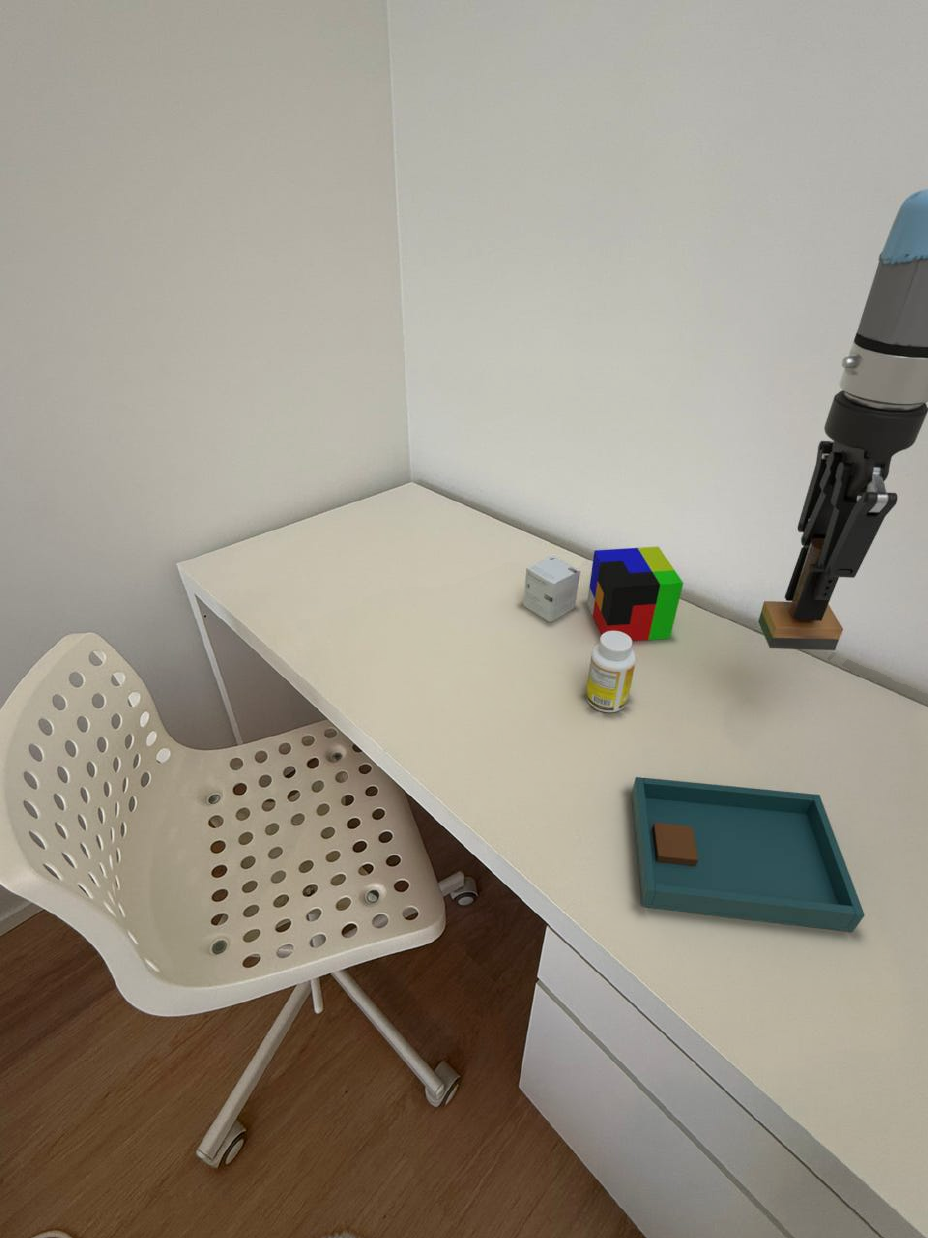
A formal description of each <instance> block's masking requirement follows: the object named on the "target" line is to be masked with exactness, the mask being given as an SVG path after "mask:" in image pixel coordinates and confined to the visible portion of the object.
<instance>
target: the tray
mask: <svg viewBox="0 0 928 1238" xmlns="http://www.w3.org/2000/svg"><path fill="white" fill-rule="evenodd" d="M631 802H632V803H631V805H632V813H633V815H632V816H633V823H634V824H633V825H634V833H635V834H634V835H635V845H636V847H635V848H636V854H637V856H636V857H637V867H638V878H639V888H640V898H641V907H642V908H648V909H649V908H650V909H657V910H665V911H673V912H682V913H689V914H691V913H692V914H699V915H706V916H707V915H708V916H716V917H724V918H732V919H740V920H748V921H749V920H750V921H758V922H766V923H775V924H781V925H782V924H783V925H791V926H798V927H807V928H817V929H824V930H832V931H841V932H848V933H850V932H851V933H853V932H854V931H855V930H856V928H858V925H860V923H861V921H862V920H863V919H864V917H865V916H866V915H865V912H864V910H863V907H862V904H861V902H860V899H859V896H858V894H857V891H856V888H855V885H854V882H853V880H852V878H851V875H850V872H849V869H848V866H847V864H846V861H845V859H844V857H843V854H842V851H841V848H840V845H839V842H838V840H837V837H836V835H835V832H834V829H833V827H832V824H831V821H830V819H829V816H828V814H827V813H828V812H827V811H826V808H825V805H824V803H823V800H822V798H821V795H820V794H811V793H805V792H804V793H803V792H795V791H794V792H792V791H784V790H783V791H782V790H772V789H762V788H752V787H743V786H740V787H739V786H731V785H723V784H714V783H702V782H692V781H683V780H671V779H661V778H653V777H652V778H651V777H641V776H635V779H634V782H633V786H632V792H631ZM654 823H663V824H673V825H683V826H692V828H693V833H694V839H695V845H696V850H697V856H698V862H697V864H696V866H688V865H679V864H670V863H661V862H656V857H655V848H654V840H653V832H652V828H653V824H654Z"/></svg>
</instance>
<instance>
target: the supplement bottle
mask: <svg viewBox="0 0 928 1238" xmlns="http://www.w3.org/2000/svg"><path fill="white" fill-rule="evenodd" d="M590 654H591V655H590V661H589V669H588V674H587V675H588V676H587V681H586V682H587V683H586V689H585V697H586V700H587V702H588V704H589V705H590V706H591V707H592V708H594V709H595V710H598V711H600V712H604V713H615V712H619V711H621V710H623V709H624V708H625V707H626V706H627V704H628V702H629V697H630V692H631V687H632V682H633V677H634V673H635V668H636V662H637V656H636V655H637V654H636V652H635V650H634V649H633V641H632V639H631V638H630V637H629V636H628V635H627V634H625V633H623V632H620V631H608V632H605V633H604V634H602V636H601V635H600V638H599V642H598V643H597V644H595V646H593V648H592V650H591V653H590Z"/></svg>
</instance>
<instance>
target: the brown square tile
mask: <svg viewBox="0 0 928 1238" xmlns="http://www.w3.org/2000/svg"><path fill="white" fill-rule="evenodd" d="M652 832H653V840H654V848H655V857H656V862H661V863H670V864H679V865H688V866H696V864H697V862H698V856H697V850H696V845H695V839H694V833H693V828H692V826H683V825H673V824H663V823H654V824H653V828H652Z"/></svg>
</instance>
